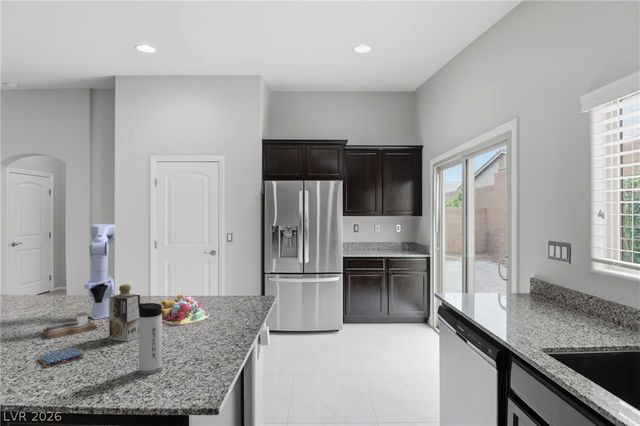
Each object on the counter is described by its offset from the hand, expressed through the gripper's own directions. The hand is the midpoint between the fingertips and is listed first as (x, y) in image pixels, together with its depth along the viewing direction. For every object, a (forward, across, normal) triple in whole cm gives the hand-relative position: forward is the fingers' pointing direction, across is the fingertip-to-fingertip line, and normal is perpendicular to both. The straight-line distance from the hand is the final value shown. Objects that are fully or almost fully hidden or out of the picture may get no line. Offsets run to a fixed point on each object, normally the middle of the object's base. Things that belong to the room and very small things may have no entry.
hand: (98, 302), depth 150 cm
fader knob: (+8, +4, -4) cm, 10 cm away
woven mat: (+10, +34, +11) cm, 38 cm away
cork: (+10, -31, -8) cm, 34 cm away
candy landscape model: (+10, -14, +30) cm, 35 cm away
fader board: (+10, +8, -6) cm, 14 cm away
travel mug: (+10, +42, +44) cm, 62 cm away
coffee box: (+10, +15, +20) cm, 27 cm away
